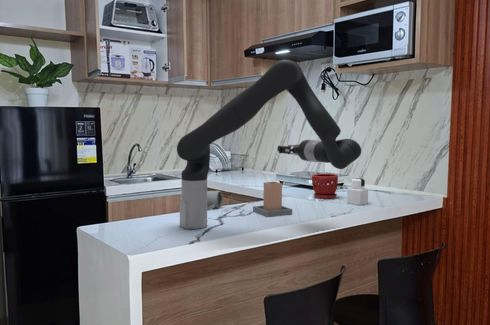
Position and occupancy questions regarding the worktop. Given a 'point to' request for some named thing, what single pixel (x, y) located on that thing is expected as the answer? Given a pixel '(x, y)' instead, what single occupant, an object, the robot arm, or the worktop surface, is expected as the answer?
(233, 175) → the worktop surface
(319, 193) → the plant pot
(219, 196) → the ceramic mug
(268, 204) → the cup
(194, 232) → the worktop surface
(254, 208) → the tray
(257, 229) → the worktop surface
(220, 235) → the worktop surface
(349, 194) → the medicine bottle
